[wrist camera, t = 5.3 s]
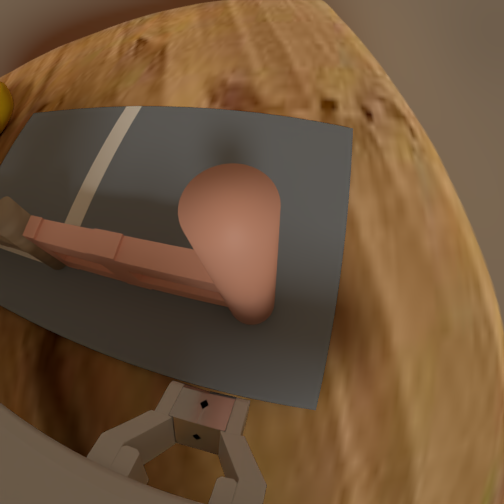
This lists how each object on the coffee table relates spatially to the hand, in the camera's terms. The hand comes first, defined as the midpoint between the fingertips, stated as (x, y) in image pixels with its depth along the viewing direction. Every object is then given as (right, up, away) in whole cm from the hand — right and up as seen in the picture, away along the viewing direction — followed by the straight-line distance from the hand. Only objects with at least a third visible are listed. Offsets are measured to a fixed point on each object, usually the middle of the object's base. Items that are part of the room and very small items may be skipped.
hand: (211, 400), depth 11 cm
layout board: (-9, +9, +10) cm, 16 cm away
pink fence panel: (-4, +4, +7) cm, 9 cm away
